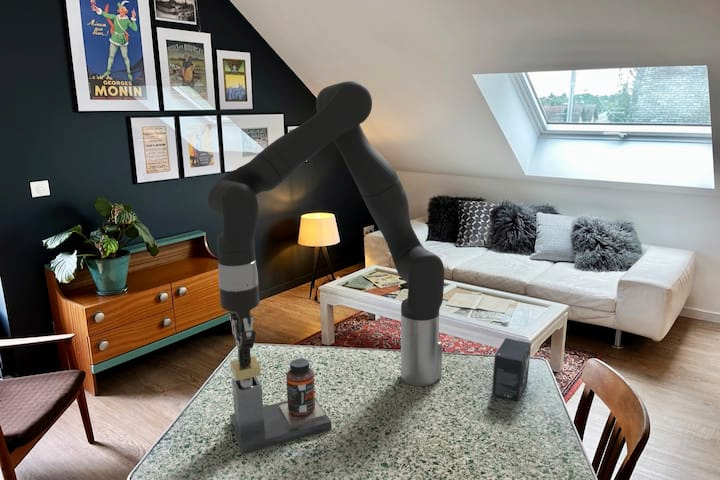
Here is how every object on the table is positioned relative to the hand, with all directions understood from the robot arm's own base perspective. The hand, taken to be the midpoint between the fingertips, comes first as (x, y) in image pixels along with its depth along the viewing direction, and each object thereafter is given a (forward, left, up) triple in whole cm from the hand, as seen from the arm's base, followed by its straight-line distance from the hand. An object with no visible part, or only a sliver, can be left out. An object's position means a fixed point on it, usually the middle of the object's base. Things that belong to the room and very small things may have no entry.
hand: (244, 363), depth 112 cm
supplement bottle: (-12, 0, -14) cm, 18 cm away
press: (-7, 0, -16) cm, 18 cm away
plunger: (0, 0, -12) cm, 12 cm away
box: (-61, +9, -17) cm, 64 cm away
